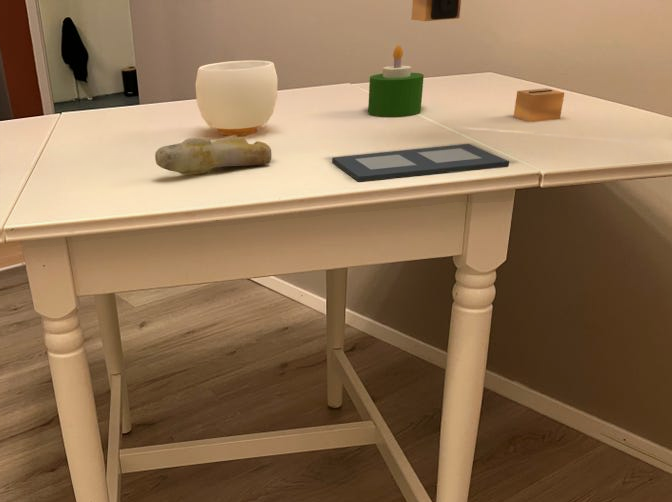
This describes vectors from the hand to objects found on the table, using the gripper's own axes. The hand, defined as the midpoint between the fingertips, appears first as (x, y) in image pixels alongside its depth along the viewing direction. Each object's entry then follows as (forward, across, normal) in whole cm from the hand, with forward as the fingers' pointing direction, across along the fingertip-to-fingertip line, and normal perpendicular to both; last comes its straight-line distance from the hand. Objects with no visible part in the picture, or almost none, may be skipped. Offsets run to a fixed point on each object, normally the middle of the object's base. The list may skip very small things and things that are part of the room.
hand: (435, 15), depth 90 cm
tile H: (0, 0, 0) cm, 0 cm away
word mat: (+15, -13, +6) cm, 21 cm away
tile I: (+15, +4, -18) cm, 24 cm away
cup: (+15, +15, +24) cm, 32 cm away
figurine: (+15, -7, +31) cm, 35 cm away
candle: (+15, +20, -3) cm, 25 cm away
